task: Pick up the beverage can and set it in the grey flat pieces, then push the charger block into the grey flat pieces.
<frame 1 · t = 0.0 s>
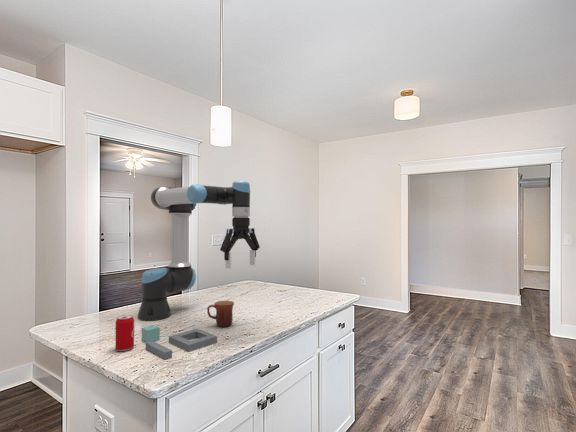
hand: (240, 266, 146), 28 cm above the counter, fingers open, 13 cm apart
mug: (220, 326, 154), on the counter
charger block: (150, 340, 135), on the counter
beverage can: (124, 349, 125), on the counter
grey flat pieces: (182, 345, 129), on the counter
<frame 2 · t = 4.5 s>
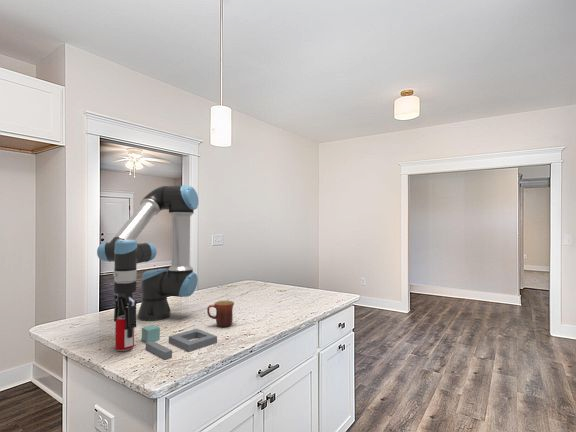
hand: (124, 343, 125), 2 cm above the counter, fingers closed on beverage can, 6 cm apart
beverage can: (124, 349, 125), on the counter, touching gripper
everything else where it was.
when the fingers open (4 cm above the counter, at t = 9.8 s): beverage can drops 2 cm, resting in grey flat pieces.
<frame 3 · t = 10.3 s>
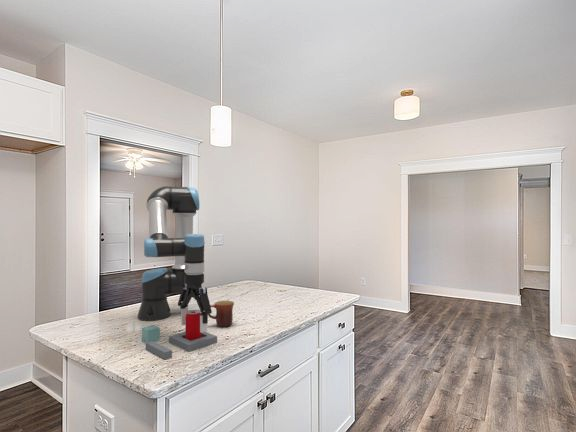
hand: (193, 328, 133), 6 cm above the counter, fingers open, 12 cm apart
beverage can: (193, 342, 133), resting in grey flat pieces
everything else where it was.
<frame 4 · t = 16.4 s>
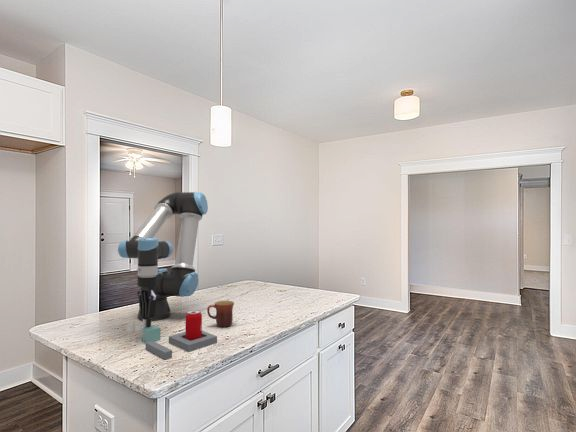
hand: (146, 334, 137), 2 cm above the counter, fingers closed
nothing on the counter moved.
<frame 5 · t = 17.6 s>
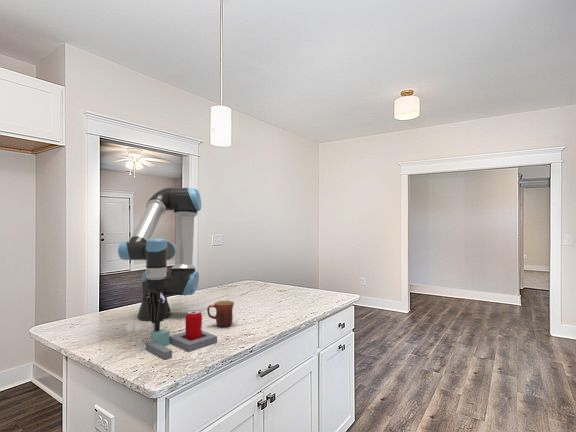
hand: (155, 338, 132), 2 cm above the counter, fingers closed
charger block: (159, 344, 130), on the counter, touching gripper
everything else where it was.
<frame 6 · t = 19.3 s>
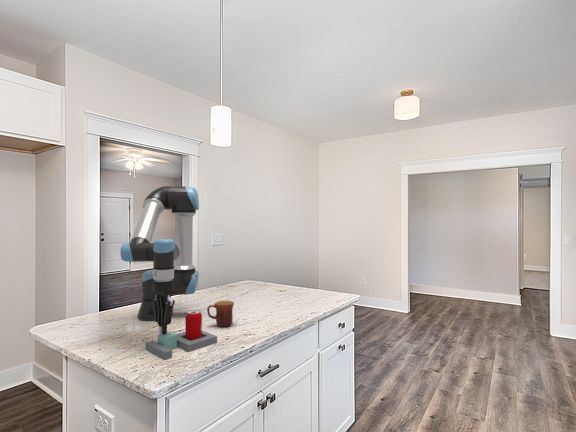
hand: (162, 342, 128), 2 cm above the counter, fingers closed
charger block: (167, 348, 126), on the counter, touching gripper
everything else where it was.
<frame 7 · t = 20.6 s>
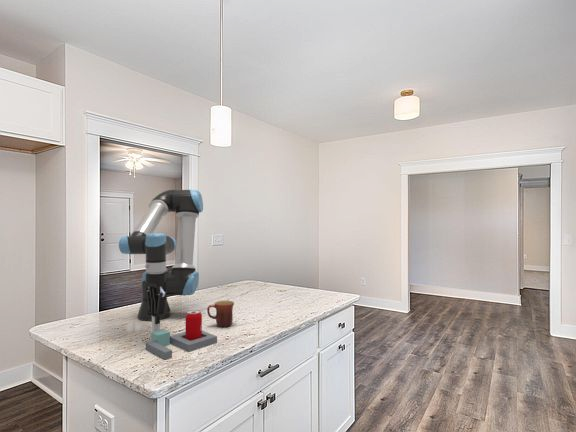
hand: (156, 331, 135), 4 cm above the counter, fingers closed
charger block: (163, 340, 128), point 2 cm above the counter, tilted 90°
everything else where it was.
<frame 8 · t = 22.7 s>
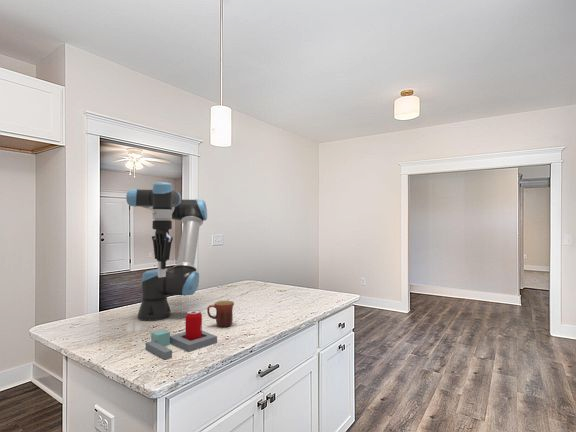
hand: (161, 276, 140), 24 cm above the counter, fingers closed
nothing on the counter moved.
at the end: beverage can 0.1 cm from the target spot on the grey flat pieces, point 0.0 cm above the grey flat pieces's base; beverage can tilted 0°; charger block inside the target area on the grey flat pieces (2.4 cm from its centre), point 2.4 cm above the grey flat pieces's base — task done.
